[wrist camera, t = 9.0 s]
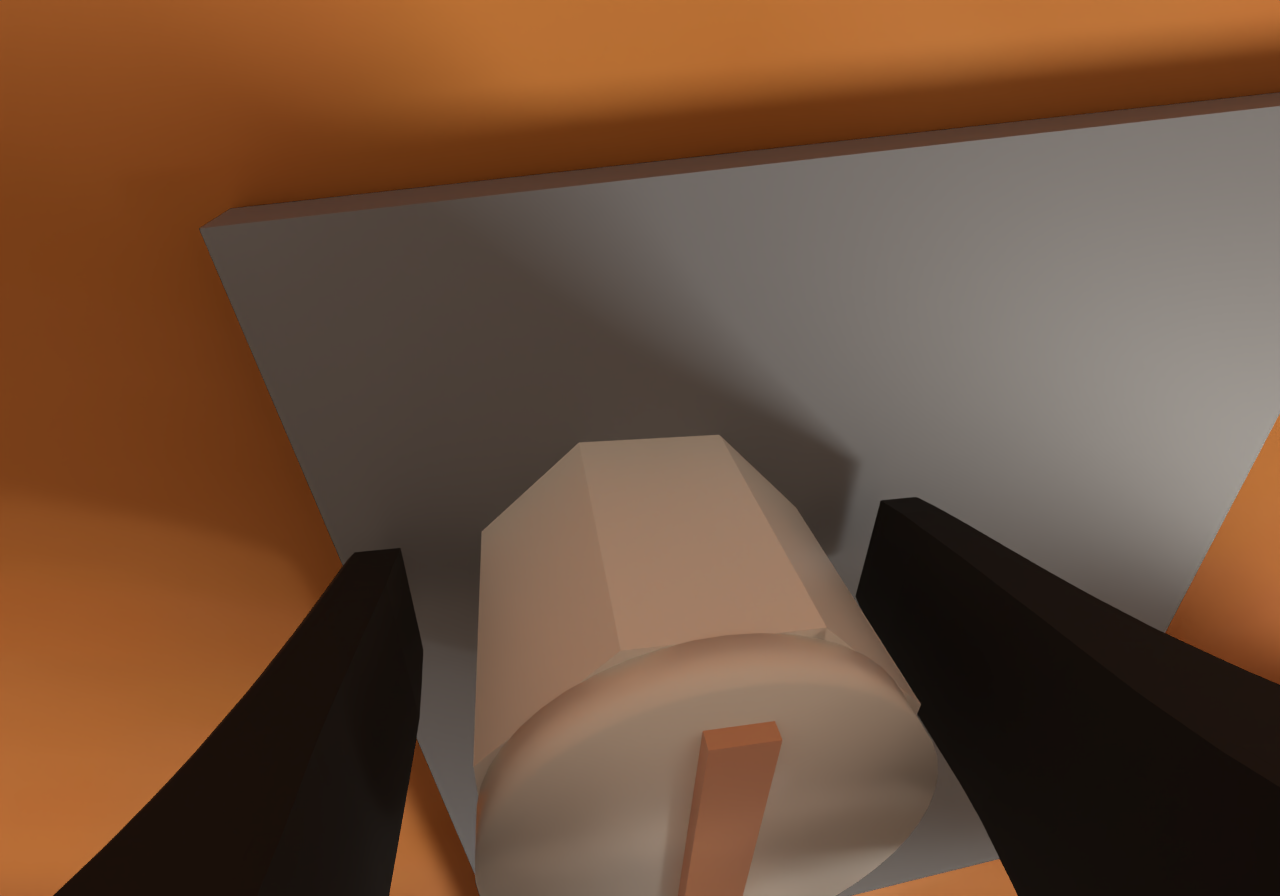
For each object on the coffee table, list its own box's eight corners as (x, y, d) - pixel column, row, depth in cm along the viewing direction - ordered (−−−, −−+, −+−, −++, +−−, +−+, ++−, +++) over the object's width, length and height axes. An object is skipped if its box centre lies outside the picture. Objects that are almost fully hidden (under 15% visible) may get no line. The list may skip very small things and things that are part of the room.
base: (1031, 812, 20) (1150, 985, 17) (518, 936, 19) (522, 1161, 15) (1367, 82, 10) (1918, 110, 6) (230, 207, 8) (-14, 360, 4)
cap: (767, 657, 13) (884, 929, 9) (495, 689, 12) (493, 1008, 8) (815, 426, 10) (1016, 671, 6) (469, 445, 9) (447, 746, 5)
